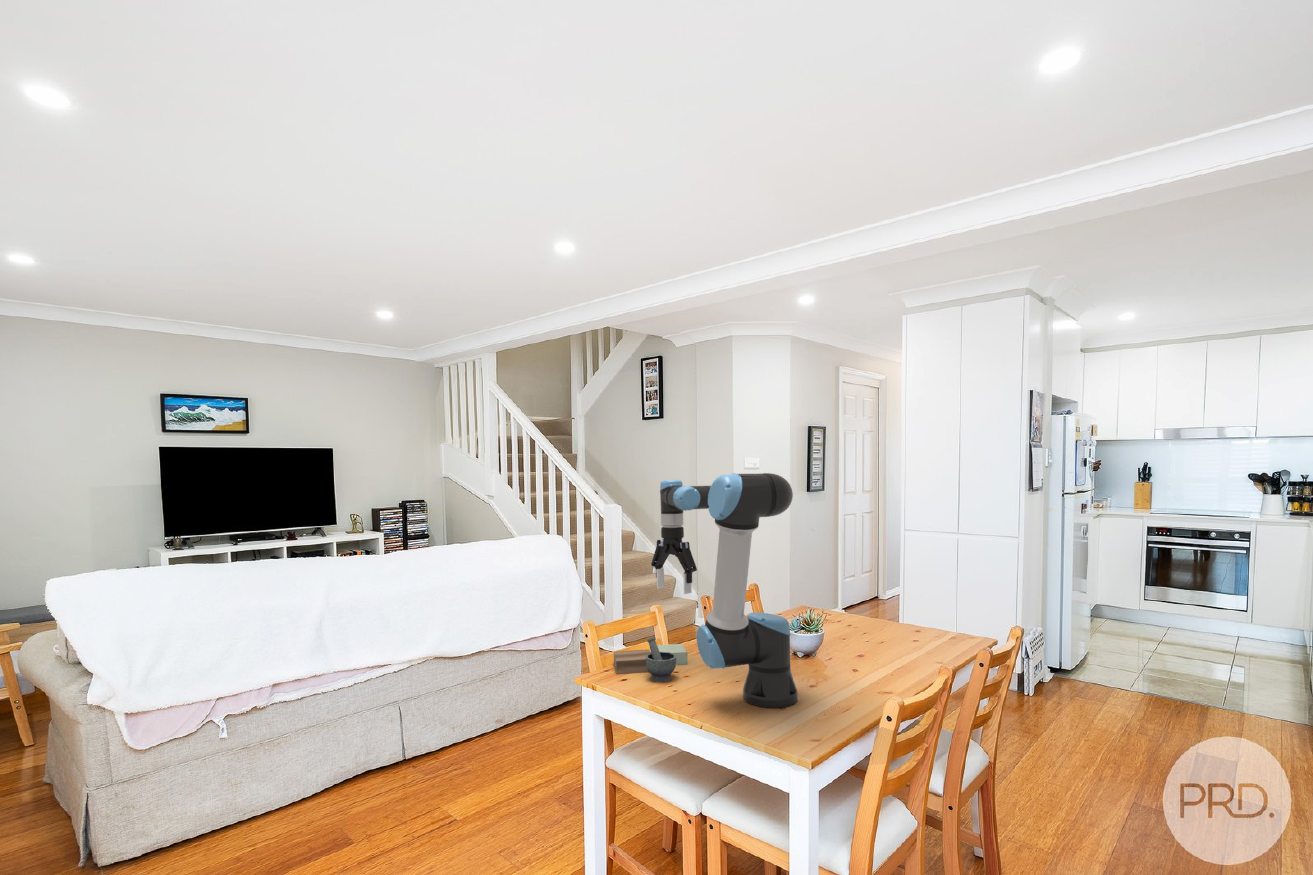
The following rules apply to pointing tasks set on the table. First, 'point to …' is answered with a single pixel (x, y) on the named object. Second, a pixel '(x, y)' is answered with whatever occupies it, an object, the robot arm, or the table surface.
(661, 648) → the green plinth
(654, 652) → the mortar and pestle
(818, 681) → the table surface
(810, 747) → the table surface
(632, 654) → the walnut plinth
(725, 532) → the robot arm
